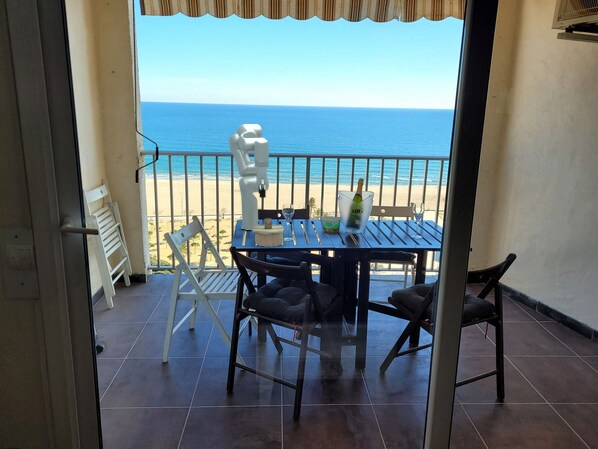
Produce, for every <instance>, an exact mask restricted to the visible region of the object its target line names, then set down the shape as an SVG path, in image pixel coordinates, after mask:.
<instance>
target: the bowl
mask: <svg viewBox="0 0 598 449" xmlns="http://www.w3.org/2000/svg"><path fill="white" fill-rule="evenodd" d="M254 234H255V233H254ZM254 236H255V239H254V241H255V242H256V243H255V242H254V243H255V245H256V244H258V245H262V246H275V247H278V245H279V246H281V245H282V244H283V232H282V233H279V234H275V235H259V234H255V235H254Z"/></svg>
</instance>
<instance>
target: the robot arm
mask: <svg viewBox="0 0 598 449" xmlns="http://www.w3.org/2000/svg"><path fill="white" fill-rule="evenodd" d="M262 136H263V128H262V127H261V126H260V124H258V123H248V124H247V123H245V124H240V125H239V126H238V127H237V128H236V133H233V134H231V135H230V136H229V137H228V146H229V151H231V154H232V155H233V158H234V159H235V163H236V164H235V165H236V167H237V172H238V174H239V176H240V177H241V178H240V179H239V181H238V186H239V191H240V196H241V198H240V200H241V201H240V202H241V219H242V220H241V221H242V222H241V223H242V224H241V226H242V227H241V228H242V229H246V230H252V229H253V227H255V226H259V225H260V224H259V208H258V204H259V203H258V199H257V197H256V196H255V194H254V193H258V194H259V198H260V199H263V198H264V199H265V198H266V195H267V194H266V193H267V191H268V190H269V188H270V187H269V186H270V184H269V183H270V182H269V178H268V175H267V174H268V172H267V168H269V167H270V160H269V158H270V157H269V156H270V155H269V151H270V150H269V147H270V146H269V145H270V144H269V141H268V140H267V139H266V138H265V137H262ZM248 153H253V154H254V155H253V156H254V160H250V159H251V158H250V155H249V154H248Z"/></svg>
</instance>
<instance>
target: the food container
mask: <svg viewBox="0 0 598 449" xmlns="http://www.w3.org/2000/svg"><path fill="white" fill-rule="evenodd" d="M320 220H321V222H322V230H323V231H322V232H323V233H324V234H327V235H337V234H339V233H340V229H341V228H340V227H341V220H343V218H342V215H339V216H333V215H330V216H329V215H328V216H323V215H321V217H320Z"/></svg>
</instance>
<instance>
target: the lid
mask: <svg viewBox="0 0 598 449" xmlns="http://www.w3.org/2000/svg"><path fill="white" fill-rule="evenodd" d="M263 221H264V222H263V223H264V224H258V225H259V226H255V227H253V229H252V231H251V232H252V233H254V234H259V235H275V234H279V233H282V234H283V233H284V232H285V227H284V226H283V225H280V224H273V218H269V217H268V218H264V220H263Z"/></svg>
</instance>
